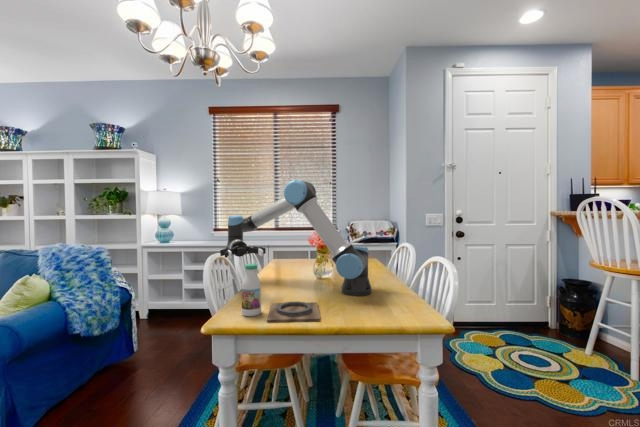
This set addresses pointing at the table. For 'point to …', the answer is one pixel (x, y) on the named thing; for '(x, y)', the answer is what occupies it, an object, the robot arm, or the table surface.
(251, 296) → the milk bottle
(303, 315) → the collar stand
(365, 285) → the robot arm
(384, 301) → the table surface
